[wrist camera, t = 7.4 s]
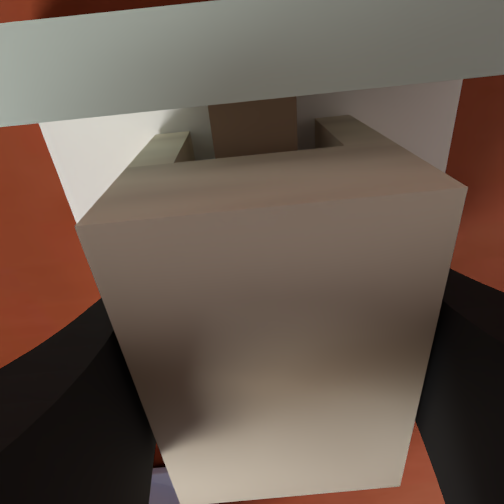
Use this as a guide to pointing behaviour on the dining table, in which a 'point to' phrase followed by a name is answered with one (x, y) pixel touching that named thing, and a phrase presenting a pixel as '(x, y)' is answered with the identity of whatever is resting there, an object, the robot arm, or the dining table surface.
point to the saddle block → (277, 306)
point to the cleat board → (241, 78)
